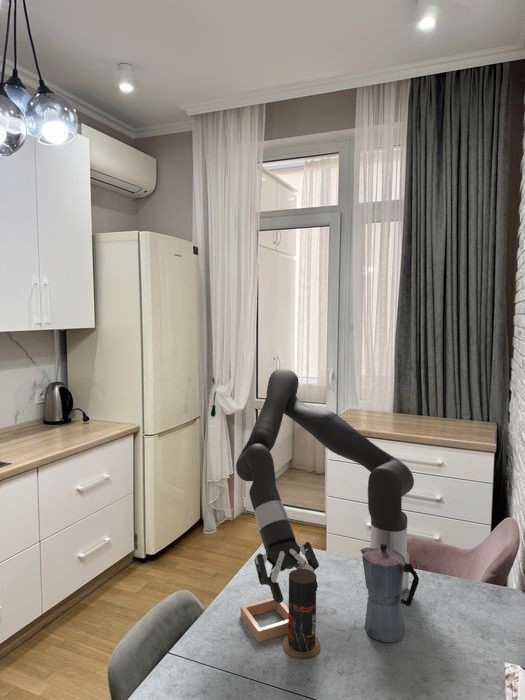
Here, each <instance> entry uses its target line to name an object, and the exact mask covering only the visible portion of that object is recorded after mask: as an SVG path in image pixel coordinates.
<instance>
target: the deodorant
mask: <svg viewBox="0 0 525 700" xmlns="http://www.w3.org/2000/svg"><path fill="white" fill-rule="evenodd" d="M316 581H317V574H316V573H315V571H314V572H312V571H310V570H307V569H296V568H295V569H293V570H291V571H290V572H289V574H288V608H289V613H288V633H287V635H288V644H289V646H290V647H291V648H292V649H293V650H295V651H298V652H308V651H311V650H312V649H313V648H314V647H315V643H316V637H317V636H316V635H317V634H316V633H317V631H316V629H317V626H316V625H317V623H316V622H317V591H316Z"/></svg>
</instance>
